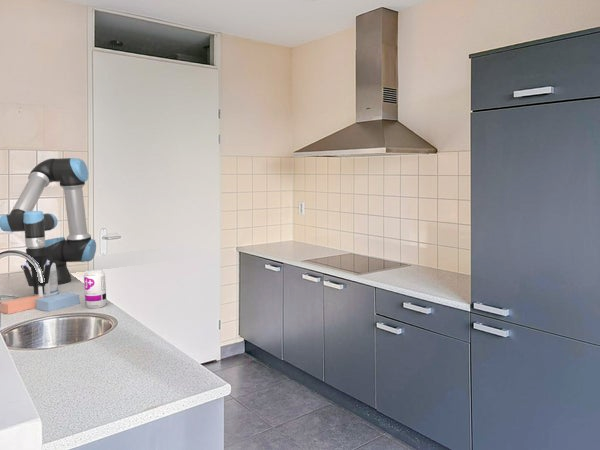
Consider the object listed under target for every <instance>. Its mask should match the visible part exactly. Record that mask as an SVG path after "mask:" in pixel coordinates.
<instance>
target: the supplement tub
mask: <svg viewBox="0 0 600 450" xmlns="http://www.w3.org/2000/svg"><path fill="white" fill-rule="evenodd" d="M45 265H46V264H45ZM45 265H44V270H45ZM38 283H39V282H38ZM58 294H59V284H58V281H57V270H56V264H55V263H53V264H52V265H51V269H50V275H49V282H48V284H45V286H44V293H43V298H45V297H49V296H53V295H58Z"/></svg>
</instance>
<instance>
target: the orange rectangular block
mask: <svg viewBox="0 0 600 450" xmlns="http://www.w3.org/2000/svg"><path fill="white" fill-rule="evenodd" d="M40 298H42V297H39V296H36V294H34V295H29V296H25V297H21V298H15V299H10V300H6V301H2V302H0V303H1V310H0V313H2V312H3V314H5V315H6V314H7V315H11V314H15V313H19V312H22V311H23V312H24V311H27V310H32V309H36V299H40Z"/></svg>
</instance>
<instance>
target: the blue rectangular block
mask: <svg viewBox="0 0 600 450" xmlns="http://www.w3.org/2000/svg"><path fill="white" fill-rule="evenodd" d="M80 303H81V301H80V294H77V293H72V292H66V291H65V292H63V293H58V294H57V295H53V296H49V297H43V298H40V299H36V308H35V309H36V310H39V311H44V312H47V313H48V312H53V311H56V310H57V311H58V310H61V309H65V308H69V307H72V306H77V305H80Z"/></svg>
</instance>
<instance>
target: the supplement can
mask: <svg viewBox="0 0 600 450" xmlns="http://www.w3.org/2000/svg"><path fill="white" fill-rule="evenodd" d="M83 287H84V299H85V300H84V301H85V307H86V308H88V309H100V308H103V307H106V305H107V304H108V303H107V289H106V288H107V287H106V273H105V272H104V270H103V269H92V270H87V271H85V272H84V275H83Z"/></svg>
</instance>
